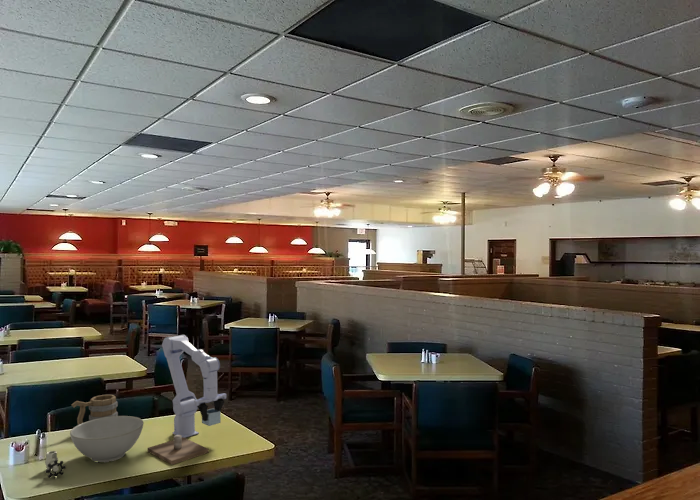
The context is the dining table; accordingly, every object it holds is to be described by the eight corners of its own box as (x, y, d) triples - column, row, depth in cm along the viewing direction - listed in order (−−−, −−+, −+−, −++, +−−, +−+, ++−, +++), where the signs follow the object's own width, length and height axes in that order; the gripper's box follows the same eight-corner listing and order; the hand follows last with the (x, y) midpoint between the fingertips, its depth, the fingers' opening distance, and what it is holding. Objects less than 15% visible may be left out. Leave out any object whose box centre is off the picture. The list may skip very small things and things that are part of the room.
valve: (40, 470, 202) (45, 481, 192) (40, 452, 202) (45, 463, 192) (60, 465, 206) (66, 476, 196) (60, 448, 206) (65, 458, 196)
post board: (147, 451, 218) (147, 435, 218) (183, 440, 230) (182, 425, 230) (171, 464, 205) (171, 447, 205) (208, 452, 216) (208, 436, 216)
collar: (201, 423, 227) (201, 411, 227) (213, 419, 231) (213, 408, 231) (209, 426, 224) (208, 414, 223) (220, 422, 228) (220, 411, 228)
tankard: (113, 421, 257) (112, 390, 257) (122, 427, 248) (121, 395, 248) (67, 431, 244) (67, 398, 244) (76, 438, 234) (75, 404, 234)
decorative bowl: (73, 450, 221) (72, 421, 221) (142, 440, 231) (142, 412, 231) (67, 475, 196) (66, 443, 196) (145, 463, 207) (144, 432, 207)
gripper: (200, 392, 219) (200, 425, 220) (230, 385, 230) (230, 416, 230) (191, 389, 224) (191, 421, 224) (221, 382, 235) (221, 413, 235)
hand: (210, 418), depth 228 cm, fingers closed on collar, 6 cm apart
